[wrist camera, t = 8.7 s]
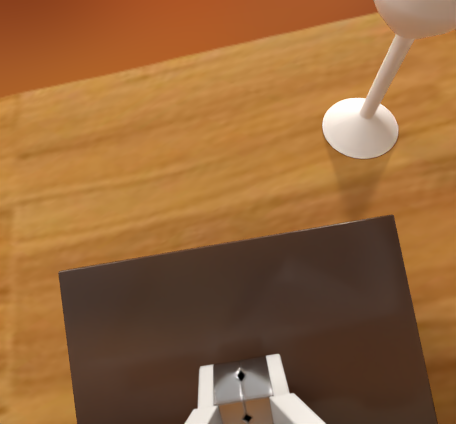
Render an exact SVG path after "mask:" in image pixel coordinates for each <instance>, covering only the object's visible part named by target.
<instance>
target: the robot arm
mask: <svg viewBox="0 0 456 424" xmlns="http://www.w3.org/2000/svg"><path fill="white" fill-rule="evenodd" d="M185 424H326V423H325V422H324V421H323V420H322V419H321V418H319V417H318V416H317V415H316V414H315V413H314V412H313V411H312V410H311V409H310V408H309V407H308V406H307V405H306V404H305V403H304V402H303V401H302V400H301V399H300V398H299V397H298V396H296V395H295V394H294V393H291V394H290V392H289V388H288V384H287V381H286V377H285V373H284V369H283V365H282V361H281V357H280V355H279V354H273V355H267V356H261V357H255V358H249V359H244V360H240V361H233V362H226V363H219V364H212V365H206V366H200V369H199V385H198V409H193V411H192V412H191V414H190V416H189V417H188V419H187V420H186V422H185Z"/></svg>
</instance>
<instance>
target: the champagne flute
mask: <svg viewBox="0 0 456 424" xmlns="http://www.w3.org/2000/svg"><path fill="white" fill-rule="evenodd" d="M374 3H375V5H376V8H377V10H378V12H379V14H380V16H381V17H382V18H383V20H384V21H385V22H386V23H387V25H388V26H389V27H390V28H391V30H392V31H393V32H394V33H396V35H395V37H394V40H393V42H392V44H391V46H390V48H389V50H388V52H387V54H386V57H385V59H384V61H383V63H382V65H381V67H380V69H379V72H378V74H377V76H376V78H375V80H374V82H373V84H372V87H371V89H370V91H369V93H368V95H367V97H366V99H364V98H350V99H345V100H342V101H340V102H338V103H336V104H334V105H333V106H332V107H331V108H330V109H328V111H327V112H326V114H325V116H324V119H323V124H322V127H323V133H324V135H325V138H326V139H327V141H328V143H329V144H330V145H331V146H332V147H333V148H334V149H336V150H337V151H339V152H340V153H342V154H344V155H346V156H350V157H353V158H360V159H369V158H374V157H378V156H380V155H383V154H384V153H386V152H387V151H389V150H390V149H391V148H392V147H393V146H394V144H395V142H396V140H397V137H398V125H397V122H396V120H395V118H394V116H393V115H392V113H391V112H390V111H389V110H388V109H387V108H386V107H384V106H383V105H381V104H380V103H381V101H382V99H383V97H384V95H385V93H386V91H387V90H388V88H389V86H390V84H391V82H392V80H393V78H394V77H395V75H396V73H397V71H398V69H399V67H400V65H401V64H402V62H403V60H404V58H405V56H406V54H407V52H408V51H409V49H410V47H411V45H412V43H413V41H414V40H415V39H422V38H426V37H431V36H435V35H440V34H445V33H448V32H450V31H453V30H455V29H456V0H374Z"/></svg>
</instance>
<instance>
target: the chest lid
mask: <svg viewBox="0 0 456 424" xmlns="http://www.w3.org/2000/svg"><path fill="white" fill-rule="evenodd" d="M58 274H59V282H60V290H61V298H62V306H63V314H64V322H65V330H66V338H67V346H68V354H69V362H70V370H71V378H72V386H73V394H74V402H75V410H76V418H77V424H185V422H186V420H187V419H188V417H189V416H190V414H191V412H192V411H193V409H198V385H199V369H200V366H206V365H212V364H219V363H226V362H233V361H240V360H244V359H249V358H255V357H261V356H267V355H273V354H279V355H280V357H281V361H282V365H283V369H284V373H285V377H286V381H287V384H288V388H289V392H290V394H291V393H294V394H295V395H296V396H298V397H299V398H300V399H301V400H302V401H303V402H304V403H305V404H306V405H307V406H308V407H309V408H310V409H311V410H312V411H313V412H314V413H315V414H316V415H317V416H318V417H319V418H321V419H322V420H323V421H324V422H325V423H326V424H438V422H437V418H436V413H435V408H434V404H433V399H432V394H431V389H430V385H429V380H428V375H427V370H426V366H425V361H424V356H423V352H422V347H421V342H420V337H419V333H418V328H417V323H416V319H415V314H414V309H413V304H412V300H411V295H410V290H409V285H408V281H407V276H406V271H405V267H404V262H403V257H402V252H401V248H400V243H399V238H398V233H397V229H396V224H395V219H394V216H393V215H387V216H380V217H374V218H368V219H362V220H357V221H351V222H345V223H339V224H333V225H327V226H321V227H315V228H309V229H303V230H298V231H292V232H286V233H280V234H274V235H268V236H262V237H256V238H250V239H244V240H239V241H233V242H227V243H221V244H215V245H209V246H203V247H197V248H191V249H185V250H180V251H174V252H168V253H162V254H156V255H150V256H144V257H138V258H132V259H126V260H121V261H115V262H109V263H103V264H97V265H91V266H85V267H79V268H73V269H68V270H63V271H59V273H58Z"/></svg>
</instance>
